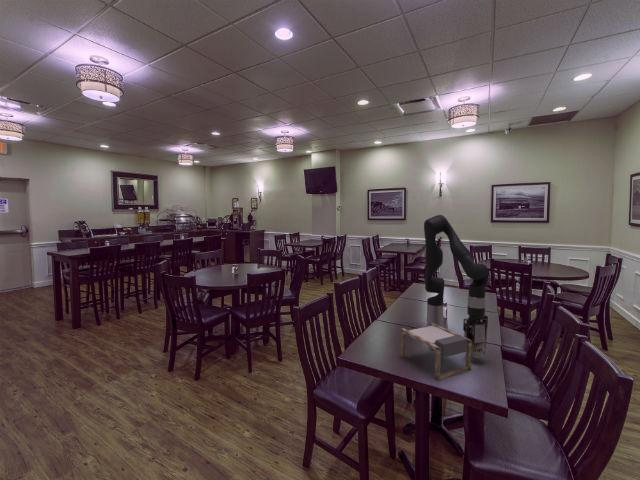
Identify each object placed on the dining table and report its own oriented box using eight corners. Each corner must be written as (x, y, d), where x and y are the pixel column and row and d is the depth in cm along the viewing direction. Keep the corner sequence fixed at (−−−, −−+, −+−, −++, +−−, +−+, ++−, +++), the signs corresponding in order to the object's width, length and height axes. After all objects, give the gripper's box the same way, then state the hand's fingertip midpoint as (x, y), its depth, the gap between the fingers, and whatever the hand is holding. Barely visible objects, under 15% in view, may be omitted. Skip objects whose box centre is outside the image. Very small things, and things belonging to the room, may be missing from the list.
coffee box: (486, 357, 144) (488, 324, 143) (473, 357, 144) (475, 325, 142) (474, 348, 153) (476, 317, 152) (462, 349, 153) (464, 318, 151)
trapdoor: (468, 351, 138) (469, 338, 137) (441, 358, 131) (442, 344, 131) (432, 333, 158) (432, 322, 157) (408, 339, 151) (408, 327, 151)
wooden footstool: (470, 370, 140) (471, 340, 138) (437, 380, 132) (438, 348, 130) (431, 348, 162) (432, 322, 161) (400, 356, 154) (401, 328, 153)
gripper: (479, 301, 152) (478, 332, 154) (459, 305, 147) (458, 337, 148) (493, 305, 146) (492, 338, 147) (472, 309, 140) (471, 344, 141)
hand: (475, 338), depth 148 cm, fingers closed on coffee box, 7 cm apart
